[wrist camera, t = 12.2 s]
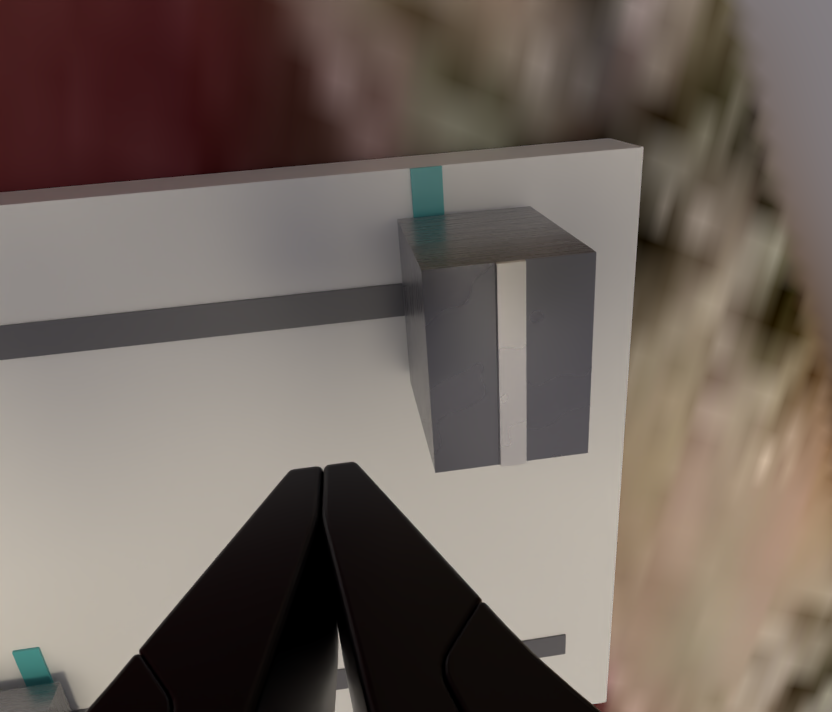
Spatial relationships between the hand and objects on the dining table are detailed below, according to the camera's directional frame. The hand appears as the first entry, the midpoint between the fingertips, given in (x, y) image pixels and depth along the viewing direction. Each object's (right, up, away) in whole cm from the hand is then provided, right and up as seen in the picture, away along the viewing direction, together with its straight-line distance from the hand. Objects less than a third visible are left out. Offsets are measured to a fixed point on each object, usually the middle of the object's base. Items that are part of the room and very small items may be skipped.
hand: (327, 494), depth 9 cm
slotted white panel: (-4, -2, +11) cm, 12 cm away
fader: (+2, +3, +7) cm, 8 cm away
